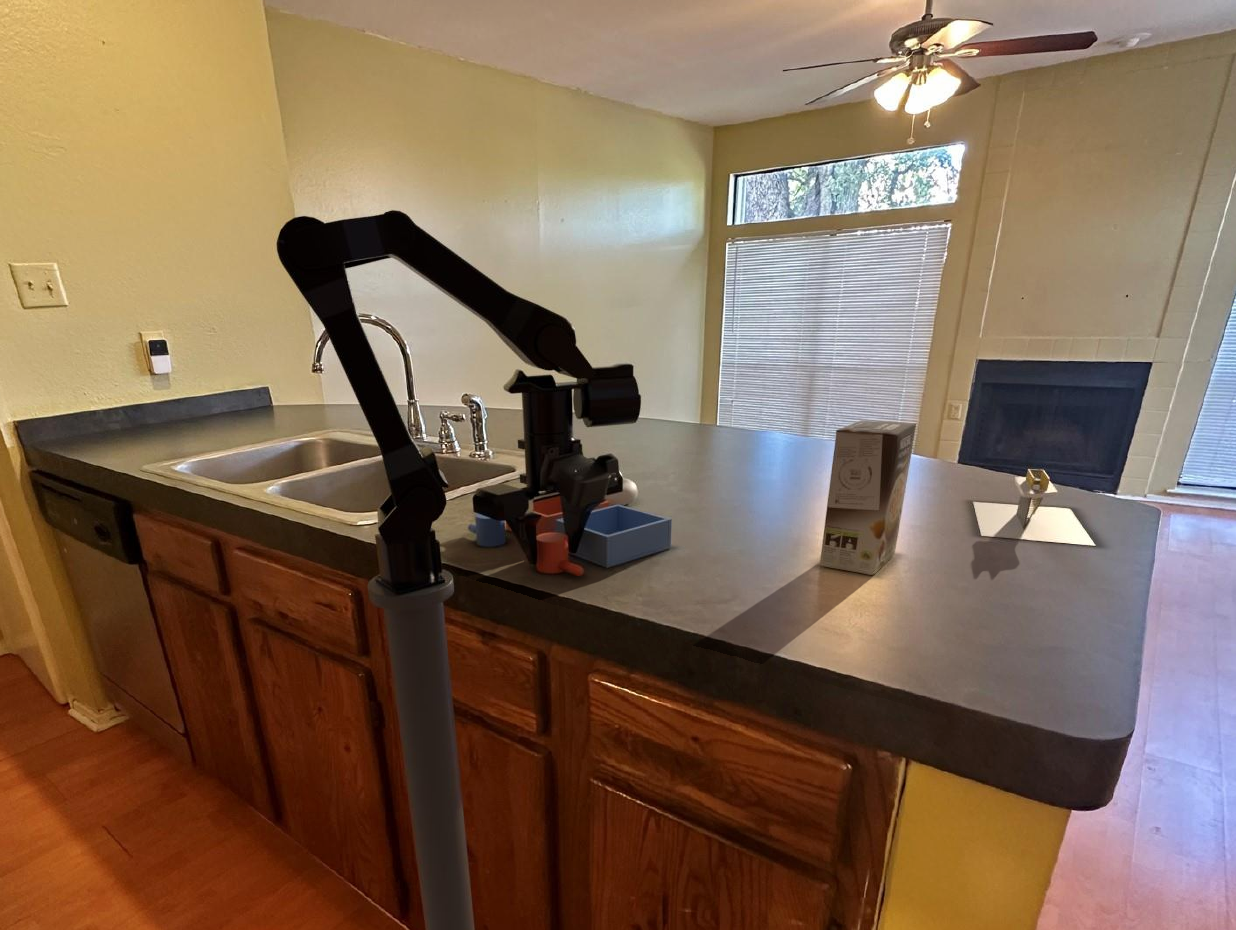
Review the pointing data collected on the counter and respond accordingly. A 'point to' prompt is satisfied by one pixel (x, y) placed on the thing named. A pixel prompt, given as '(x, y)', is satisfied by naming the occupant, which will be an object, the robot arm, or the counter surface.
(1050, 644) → the counter surface
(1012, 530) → the platform
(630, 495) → the donut
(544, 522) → the red bin
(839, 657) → the counter surface
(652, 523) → the blue bin
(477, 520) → the blue handled mug
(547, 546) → the red cylinder with peg
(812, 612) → the counter surface
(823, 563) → the coffee box
